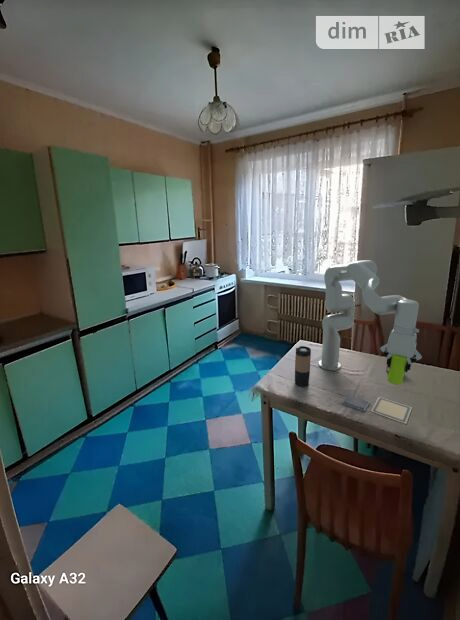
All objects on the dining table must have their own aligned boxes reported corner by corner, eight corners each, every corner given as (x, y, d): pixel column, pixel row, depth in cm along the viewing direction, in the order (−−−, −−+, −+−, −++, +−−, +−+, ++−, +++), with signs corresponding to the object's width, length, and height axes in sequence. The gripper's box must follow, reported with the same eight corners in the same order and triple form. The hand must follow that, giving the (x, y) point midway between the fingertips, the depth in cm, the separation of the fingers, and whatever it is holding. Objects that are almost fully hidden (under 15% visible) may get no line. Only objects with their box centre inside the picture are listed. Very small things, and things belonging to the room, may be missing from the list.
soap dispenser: (399, 387, 122) (409, 345, 116) (384, 379, 128) (392, 338, 121) (407, 383, 125) (417, 341, 118) (392, 376, 131) (401, 335, 124)
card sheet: (378, 397, 140) (378, 396, 140) (412, 407, 131) (412, 407, 131) (370, 411, 130) (370, 410, 130) (406, 424, 121) (406, 423, 121)
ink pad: (347, 396, 142) (347, 393, 141) (369, 403, 135) (369, 401, 135) (341, 403, 136) (342, 401, 135) (364, 412, 130) (364, 409, 129)
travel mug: (309, 388, 149) (311, 352, 143) (294, 386, 151) (295, 351, 145) (308, 380, 156) (310, 346, 151) (294, 379, 158) (295, 345, 152)
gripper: (430, 331, 117) (422, 371, 122) (383, 322, 127) (378, 359, 133) (427, 337, 111) (419, 378, 117) (378, 327, 122) (373, 366, 127)
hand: (397, 368), depth 125 cm, fingers closed on soap dispenser, 6 cm apart
